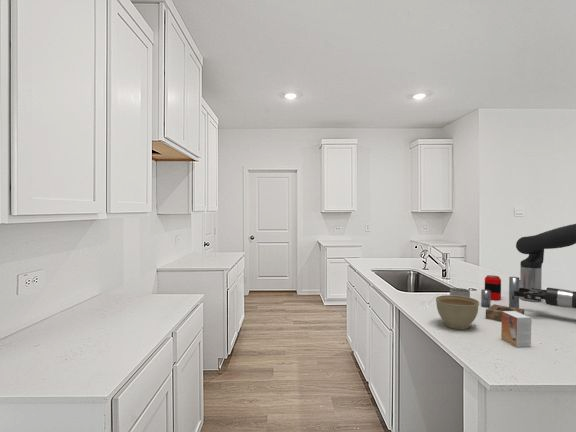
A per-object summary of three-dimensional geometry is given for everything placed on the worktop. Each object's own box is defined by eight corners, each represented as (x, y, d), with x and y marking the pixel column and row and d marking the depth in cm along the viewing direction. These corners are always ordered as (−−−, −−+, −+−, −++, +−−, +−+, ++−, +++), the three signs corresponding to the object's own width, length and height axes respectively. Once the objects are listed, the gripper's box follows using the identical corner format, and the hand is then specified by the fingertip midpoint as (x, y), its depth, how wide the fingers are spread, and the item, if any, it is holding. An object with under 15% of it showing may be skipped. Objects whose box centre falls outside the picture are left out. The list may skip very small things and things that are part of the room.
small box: (500, 339, 133) (501, 310, 132) (515, 338, 133) (515, 310, 133) (516, 347, 125) (516, 317, 124) (531, 346, 125) (531, 317, 125)
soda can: (497, 301, 185) (498, 278, 184) (482, 298, 190) (482, 276, 190) (503, 298, 190) (503, 276, 189) (487, 296, 195) (487, 274, 195)
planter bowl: (429, 319, 156) (429, 294, 155) (467, 319, 155) (467, 295, 155) (444, 332, 139) (445, 305, 139) (486, 332, 139) (487, 305, 139)
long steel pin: (506, 310, 169) (507, 276, 168) (514, 310, 169) (514, 276, 169) (513, 312, 165) (513, 278, 164) (521, 312, 165) (521, 278, 165)
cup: (461, 314, 162) (461, 292, 162) (446, 310, 170) (446, 289, 169) (473, 312, 166) (473, 290, 166) (458, 307, 174) (458, 287, 173)
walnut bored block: (485, 318, 156) (485, 309, 156) (493, 312, 165) (493, 304, 165) (517, 325, 148) (517, 315, 148) (524, 318, 156) (524, 309, 156)
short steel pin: (479, 305, 177) (479, 289, 177) (486, 305, 178) (486, 289, 177) (484, 307, 173) (485, 291, 173) (492, 307, 174) (492, 291, 173)
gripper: (562, 286, 159) (520, 281, 171) (557, 292, 149) (512, 286, 161) (562, 303, 160) (520, 296, 171) (556, 309, 150) (512, 302, 161)
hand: (516, 291), depth 166 cm, fingers open, 8 cm apart
